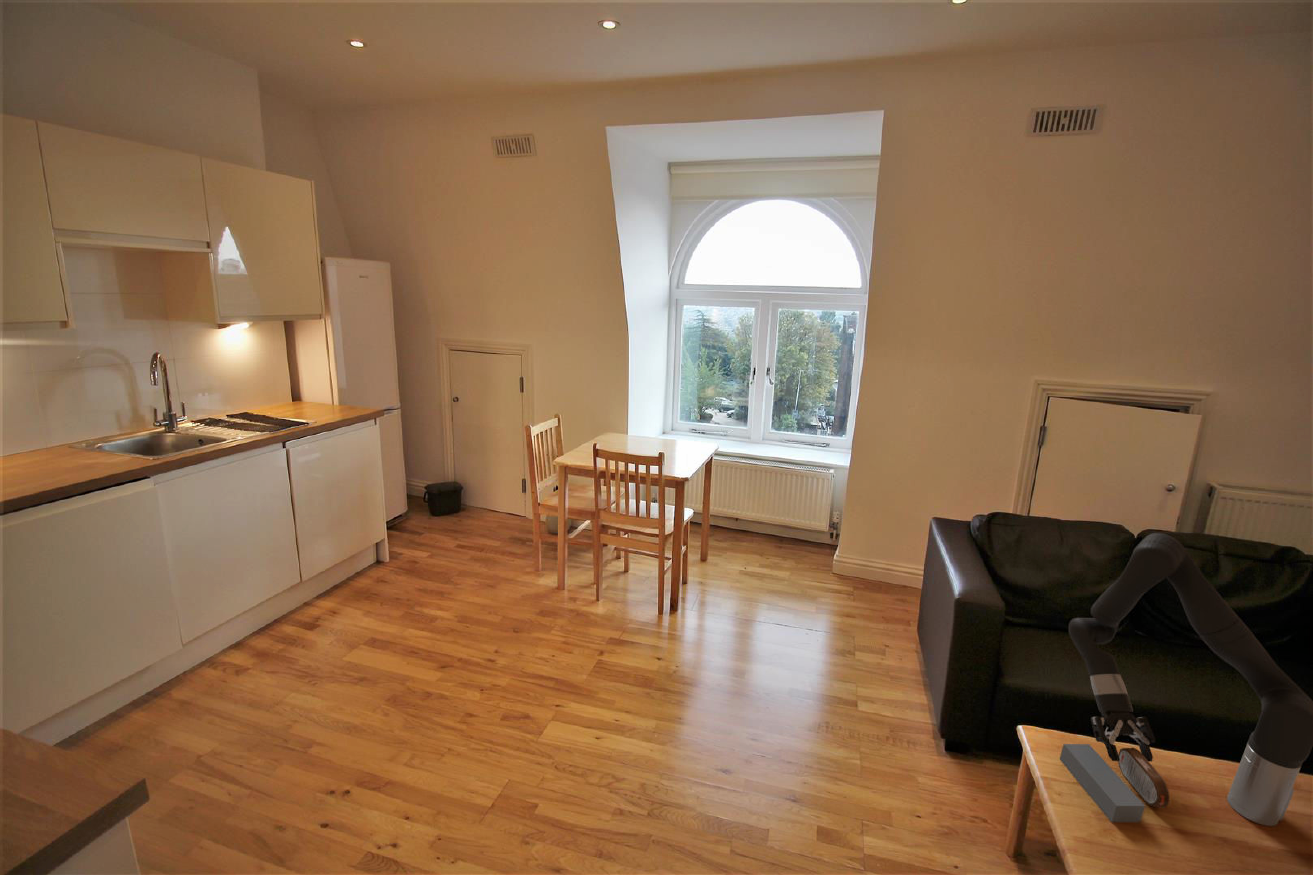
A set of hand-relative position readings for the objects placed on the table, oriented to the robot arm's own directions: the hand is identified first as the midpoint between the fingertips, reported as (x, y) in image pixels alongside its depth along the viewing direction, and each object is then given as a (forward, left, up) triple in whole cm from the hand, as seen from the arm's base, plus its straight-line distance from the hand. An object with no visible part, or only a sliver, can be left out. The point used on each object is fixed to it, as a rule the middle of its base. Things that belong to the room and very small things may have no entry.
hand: (1132, 761), depth 157 cm
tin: (0, +3, -6) cm, 7 cm away
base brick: (+10, +3, -5) cm, 12 cm away
